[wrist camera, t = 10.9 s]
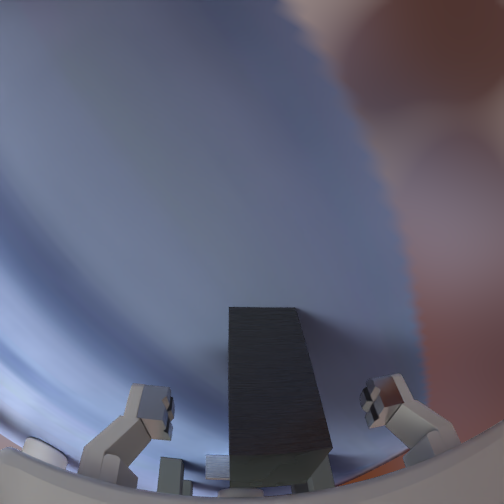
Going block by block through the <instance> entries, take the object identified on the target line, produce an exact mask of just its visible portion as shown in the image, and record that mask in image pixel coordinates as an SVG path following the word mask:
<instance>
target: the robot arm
mask: <svg viewBox="0 0 504 504" xmlns="http://www.w3.org/2000/svg"><path fill="white" fill-rule="evenodd" d="M366 386H367V387H365V388H364V389H363V390H362V392H361V394H360V404H361V407H362V409H363V410H364V411H365V412H367V413H366V415H365V419H366V422H367V424H368V427H369V429H370V428H375V427H380V426H384V425H386V427H387V428H388V429H389V430H390V431H391V432H392V433H393V434H394V435H395V436H396V437H398V438H399V439H400V440H401V441H402V442H403V443H404V444H405V445H406V446H407V447H409V448H410V449H411V450H410V451H409V452H408V453H407V454H405V455H404V457H403V460H404V463H405V466H406V468H403V469H400V470H397V471H394V472H391V473H388V474H385V475H382V476H379V477H375V478H372V479H368V480H364V481H360V482H356V483H352V484H348V485H343V486H338V487H333V488H328V489H323V490H317V491H311V492H304V493H296V494H287V495H277V496H263V497H200V496H187V495H176V494H168V493H160V492H153V491H147V490H141V489H137V481H138V477H137V476H136V475H135V474H134V473H133V472H132V471H131V470H130V469H129V468H128V466H129V465H130V464H131V463H132V462H133V461H134V460H135V458H136V457H137V456H138V455H139V454H140V453H141V451H142V450H143V449H144V448H145V447H146V446H147V444H148V443H149V442H150V441H151V439H158V440H170V441H171V438H172V429H173V427H172V424H171V421H172V420H173V419H174V412H175V405H174V399H173V397H171V389H170V387H163V386H153V385H145V384H137V383H133V384H132V386H131V389H130V392H129V396H128V400H127V404H126V408H125V412H124V416H119V417H118V418H117V419H116V420H115V421H113V422H112V423H111V424H110V425H109V426H108V427H107V428H105V429H104V430H103V431H102V432H101V433H100V434H99V435H97V436H96V437H95V438H94V439H93V440H92V441H90V442H89V443H88V444H87V445H86V446H85V447H84V449H83V453H82V457H81V461H80V465H79V469H78V473H74V472H71V471H68V470H65V469H62V468H60V467H57V466H54V465H52V464H49V463H47V462H44V461H42V460H39V459H37V458H35V457H32V456H30V455H28V454H26V453H24V452H22V451H20V450H17V449H15V448H12V447H6V448H4V449H2V450H0V504H504V420H502V421H501V422H499V423H497V424H496V425H494V426H492V427H491V428H489V429H487V430H486V431H484V432H482V433H481V434H479V435H477V436H475V437H473V438H471V439H470V440H468V441H466V442H464V443H462V444H461V442H460V440H459V438H458V436H457V434H456V431H455V429H454V427H453V425H452V423H451V422H449V421H448V420H446V419H445V418H443V417H442V416H440V415H439V414H437V413H436V412H434V411H433V410H431V409H430V408H428V407H427V406H425V405H424V404H422V403H421V402H419V401H418V400H414V399H413V397H412V395H411V393H410V391H409V389H408V387H407V385H406V383H405V381H404V379H403V377H402V375H401V374H400V373H397V374H392V375H386V376H381V377H376V378H370V379H369V380H368V381H367V382H366Z"/></svg>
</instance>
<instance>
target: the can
mask: <svg viewBox="0 0 504 504" xmlns="http://www.w3.org/2000/svg"><path fill="white" fill-rule="evenodd" d="M22 452H24V453H26V454H28V455H30V456H32V457H35V458H37V459H39V460H42V461H44V462H47V463H49V464H52V465H54V466H57V467H60V468H62V469H65V470H66V466H67V462H68V460H67V459H66V456H65V455H64V454H63V453H62V452H60V451H59V450H57V449H56V448H54V447H53V446H51V445H49V444H47V443H45V442H43V441H41V440H39V439H37V438H34V437H29V438H26V440H25V443H24V446H23V448H22Z"/></svg>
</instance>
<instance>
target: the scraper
mask: <svg viewBox="0 0 504 504" xmlns="http://www.w3.org/2000/svg"><path fill="white" fill-rule="evenodd" d="M228 417H229V456H228V455H206V472H205V478H206V479H211V480H230V488H258V487H275V486H286V485H296V484H304V483H306V482H307V480H308V479H309V478H310V477H311V475H312V474H313V473H314V472H315V470H316V469H317V468H318V467H319V465H320V464H321V463H322V462H323V460H324V459H325V458H326V456H327V455H328V454H329V452H330V451H331V450H332V448H333V447H332V443H331V439H330V435H329V431H328V427H327V423H326V419H325V415H324V411H323V407H322V403H321V399H320V395H319V392H318V388H317V384H316V380H315V377H314V373H313V369H312V365H311V362H310V358H309V354H308V351H307V347H306V344H305V340H304V336H303V333H302V329H301V326H300V322H299V319H298V315H297V312H296V308H245V307H229V346H228Z"/></svg>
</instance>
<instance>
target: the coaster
mask: <svg viewBox="0 0 504 504" xmlns="http://www.w3.org/2000/svg"><path fill="white" fill-rule="evenodd" d="M263 496H264V492H263V490H261V489H258V488H227V489H222V490H220V491H218V497H263Z"/></svg>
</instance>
